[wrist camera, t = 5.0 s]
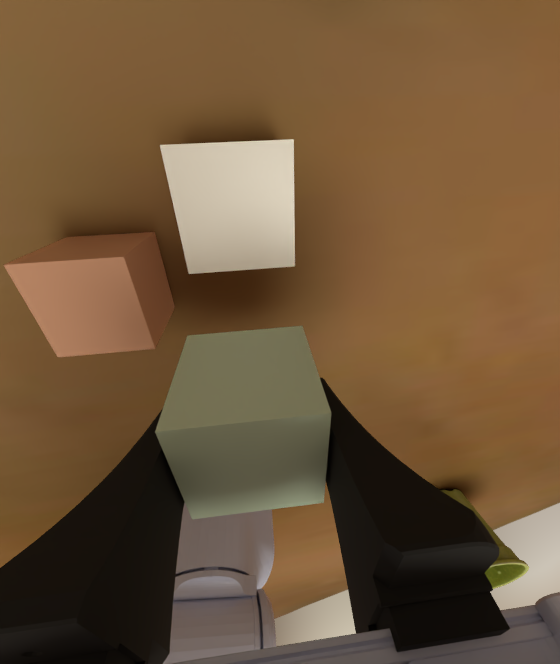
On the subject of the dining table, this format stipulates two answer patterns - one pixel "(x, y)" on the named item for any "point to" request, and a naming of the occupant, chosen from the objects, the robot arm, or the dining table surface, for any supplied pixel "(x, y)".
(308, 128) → the dining table surface
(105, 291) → the terracotta block
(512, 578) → the plant pot
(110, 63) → the dining table surface
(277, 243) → the offwhite block
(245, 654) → the robot arm
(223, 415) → the sage block
